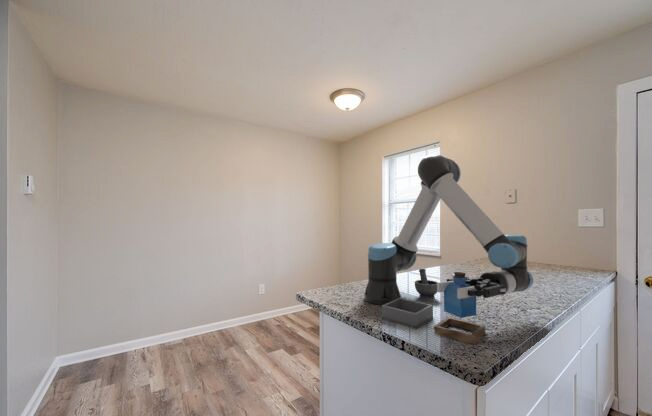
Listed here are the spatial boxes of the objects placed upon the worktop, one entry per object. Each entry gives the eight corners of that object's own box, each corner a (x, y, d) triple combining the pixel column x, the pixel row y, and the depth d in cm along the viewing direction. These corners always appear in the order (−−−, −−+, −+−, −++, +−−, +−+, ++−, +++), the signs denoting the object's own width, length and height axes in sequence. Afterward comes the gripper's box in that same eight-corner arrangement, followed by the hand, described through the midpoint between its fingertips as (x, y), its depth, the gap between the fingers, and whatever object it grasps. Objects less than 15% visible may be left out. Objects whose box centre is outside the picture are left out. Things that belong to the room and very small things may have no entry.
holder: (434, 333, 83) (434, 326, 83) (447, 323, 91) (447, 316, 91) (474, 344, 75) (474, 337, 75) (485, 332, 83) (485, 325, 83)
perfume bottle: (461, 317, 79) (461, 275, 80) (444, 311, 85) (444, 271, 85) (476, 315, 82) (476, 274, 82) (458, 308, 87) (458, 270, 88)
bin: (381, 318, 95) (381, 305, 95) (399, 310, 104) (399, 298, 104) (416, 329, 86) (416, 314, 86) (433, 318, 95) (432, 305, 95)
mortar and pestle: (442, 301, 114) (442, 272, 115) (420, 301, 114) (420, 272, 115) (431, 294, 126) (431, 267, 126) (411, 294, 125) (410, 267, 126)
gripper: (528, 302, 83) (479, 314, 72) (469, 287, 100) (422, 294, 90) (528, 277, 83) (478, 285, 73) (469, 266, 100) (423, 271, 90)
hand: (448, 290), depth 81 cm, fingers closed on perfume bottle, 6 cm apart
